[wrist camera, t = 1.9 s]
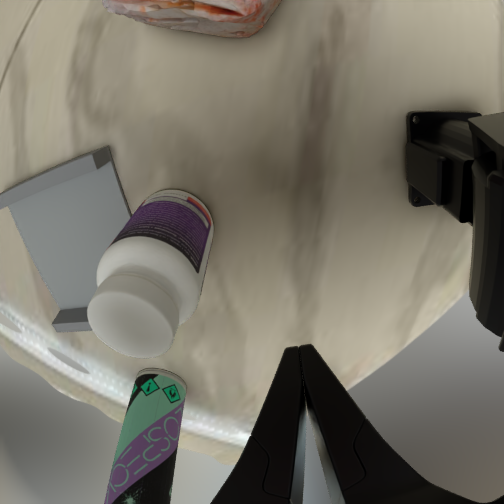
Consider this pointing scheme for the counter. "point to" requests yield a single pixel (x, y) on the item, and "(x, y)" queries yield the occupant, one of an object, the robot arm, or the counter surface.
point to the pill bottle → (152, 275)
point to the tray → (70, 228)
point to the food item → (199, 14)
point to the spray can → (148, 440)
